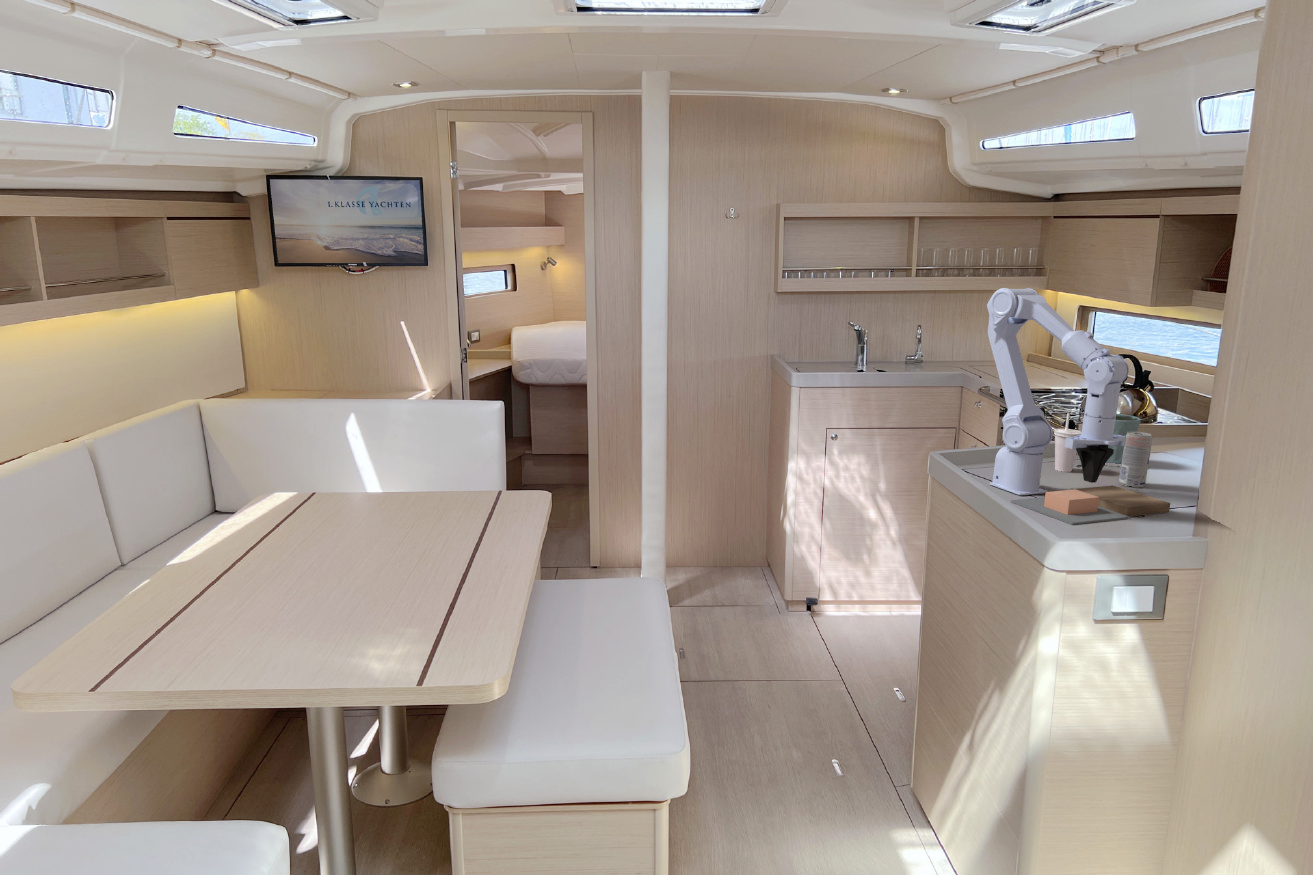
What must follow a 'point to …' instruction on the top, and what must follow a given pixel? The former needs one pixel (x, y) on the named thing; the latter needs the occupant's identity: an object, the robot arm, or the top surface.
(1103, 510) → the mat
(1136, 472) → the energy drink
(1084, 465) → the robot arm
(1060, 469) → the smoothie
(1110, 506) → the brown wooden board
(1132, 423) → the green plant pot
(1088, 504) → the block
